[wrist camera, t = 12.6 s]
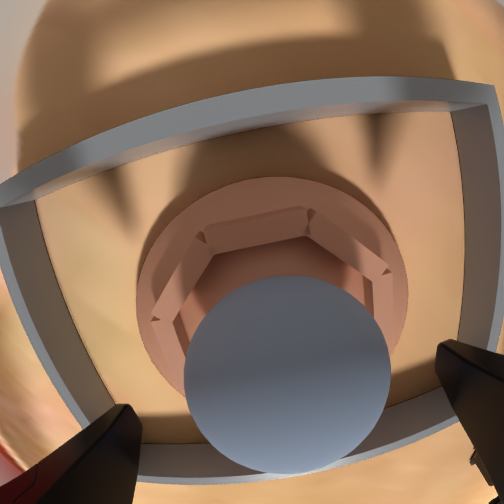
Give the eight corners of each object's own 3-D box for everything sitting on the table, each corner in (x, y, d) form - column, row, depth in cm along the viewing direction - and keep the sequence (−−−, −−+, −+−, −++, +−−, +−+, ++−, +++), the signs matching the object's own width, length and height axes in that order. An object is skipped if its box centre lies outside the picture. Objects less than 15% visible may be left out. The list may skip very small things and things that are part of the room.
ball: (345, 235, 10) (445, 304, 4) (355, 368, 12) (408, 473, 6) (179, 270, 10) (115, 374, 5) (221, 396, 12) (211, 514, 6)
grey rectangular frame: (458, 94, 9) (494, 85, 7) (456, 387, 13) (476, 411, 11) (19, 188, 10) (-17, 195, 8) (135, 450, 14) (125, 480, 12)
